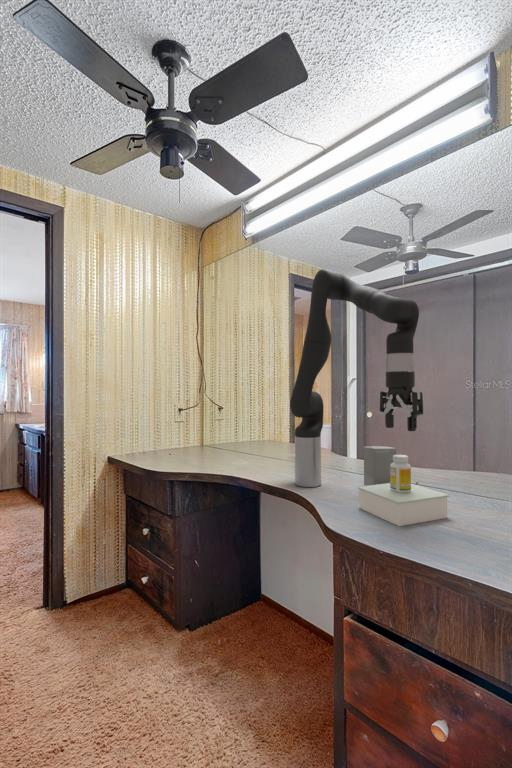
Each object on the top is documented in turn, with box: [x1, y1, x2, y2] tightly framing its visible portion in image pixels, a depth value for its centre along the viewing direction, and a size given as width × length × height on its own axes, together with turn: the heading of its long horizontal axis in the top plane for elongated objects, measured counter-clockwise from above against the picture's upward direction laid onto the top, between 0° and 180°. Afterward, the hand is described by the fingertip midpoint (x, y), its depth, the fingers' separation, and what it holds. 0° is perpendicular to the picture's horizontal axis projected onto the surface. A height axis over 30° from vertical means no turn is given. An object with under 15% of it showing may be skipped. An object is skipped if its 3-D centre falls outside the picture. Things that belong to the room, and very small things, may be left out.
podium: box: [357, 483, 450, 527], centre depth 108 cm, size 17×17×6 cm
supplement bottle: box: [390, 454, 412, 493], centre depth 108 cm, size 5×5×10 cm
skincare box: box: [363, 445, 397, 486], centre depth 124 cm, size 8×7×16 cm
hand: (400, 429), depth 108 cm, fingers open, 8 cm apart
